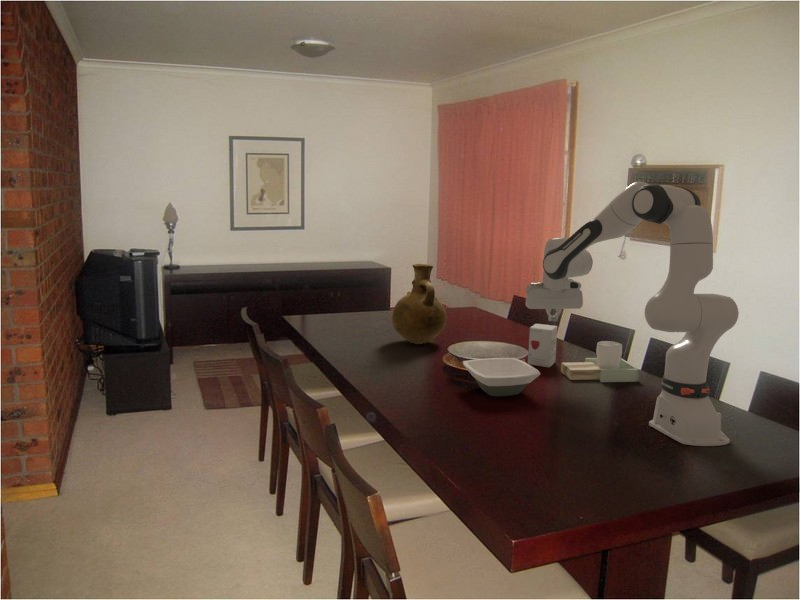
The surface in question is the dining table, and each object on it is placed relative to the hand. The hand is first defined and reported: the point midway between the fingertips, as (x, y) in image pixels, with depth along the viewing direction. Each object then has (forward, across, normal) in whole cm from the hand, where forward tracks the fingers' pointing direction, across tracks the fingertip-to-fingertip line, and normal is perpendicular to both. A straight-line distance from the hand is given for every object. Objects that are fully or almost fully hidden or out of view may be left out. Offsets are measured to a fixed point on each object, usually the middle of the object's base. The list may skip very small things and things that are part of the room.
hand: (553, 320), depth 227 cm
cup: (+21, +22, 0) cm, 30 cm away
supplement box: (+21, +2, +17) cm, 27 cm away
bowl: (+21, -23, -16) cm, 35 cm away
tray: (+21, +23, 0) cm, 31 cm away
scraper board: (+21, +12, +1) cm, 24 cm away
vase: (+21, -43, +51) cm, 70 cm away
